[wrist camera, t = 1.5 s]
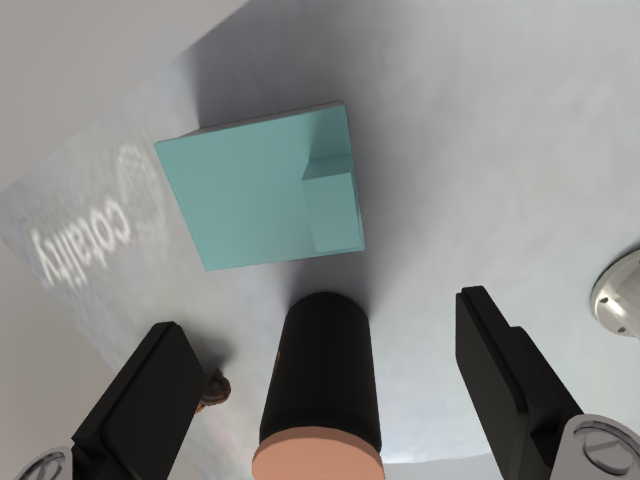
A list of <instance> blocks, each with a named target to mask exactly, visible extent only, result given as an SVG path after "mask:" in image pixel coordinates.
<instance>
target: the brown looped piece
mask: <svg viewBox="0 0 640 480" xmlns="http://www.w3.org/2000/svg"><path fill="white" fill-rule="evenodd" d="M230 392H231V387H230V383H229V381H228V380H227V379H226V378H225V377H223V374H222V372H221V371H220V370H219V369H216V370H215V371H214V373H213V374H212V375H211V376H210V377H208V378H207V385H206V388H205V390H204V393H203V395H202V397H201V400H200V402H199V405H198V407H197V409H196V412H195V414H196V413H198V412H200V411H201V410H202V409H203V408H204V407H205V406H206V405H207V406H211V405H216V404H220V403H223V402H225V401H226V400H227V399H228V397H229V394H230Z"/></svg>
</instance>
